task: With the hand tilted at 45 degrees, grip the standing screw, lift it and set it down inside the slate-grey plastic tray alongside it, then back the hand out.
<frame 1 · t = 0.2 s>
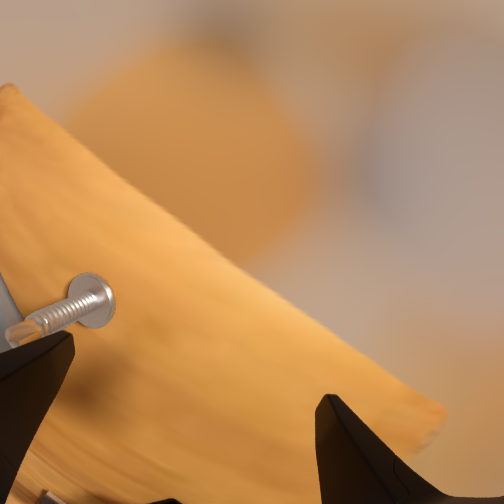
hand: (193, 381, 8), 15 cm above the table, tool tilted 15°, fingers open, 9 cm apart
screw: (101, 295, 23), on the table
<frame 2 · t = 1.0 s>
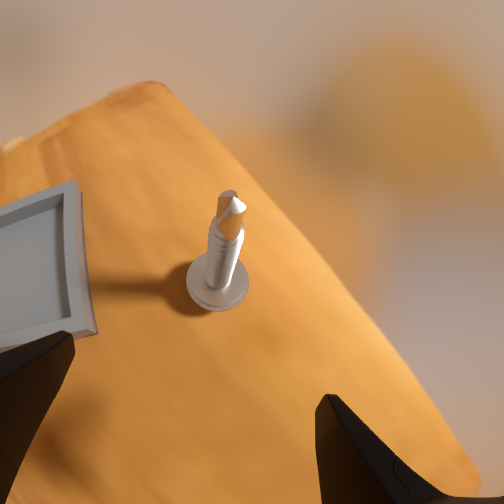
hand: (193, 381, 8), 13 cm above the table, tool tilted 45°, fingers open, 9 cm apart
tray: (17, 276, 20), on the table
screw: (216, 288, 24), on the table
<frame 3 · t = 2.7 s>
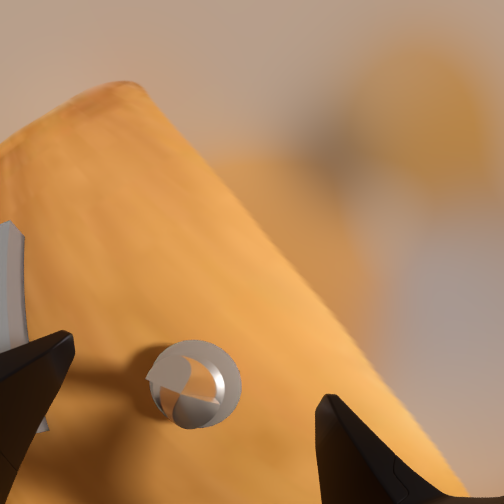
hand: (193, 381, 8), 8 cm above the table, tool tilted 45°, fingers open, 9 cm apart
screw: (195, 384, 15), on the table
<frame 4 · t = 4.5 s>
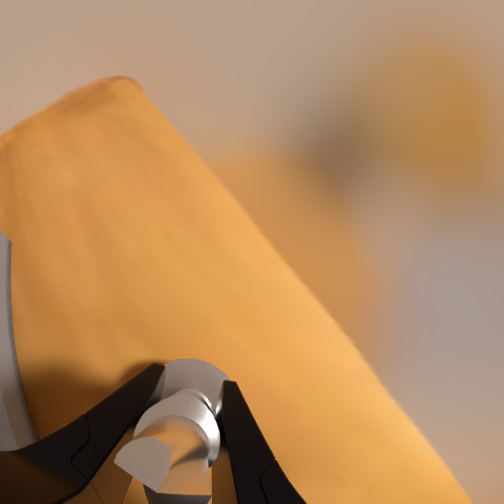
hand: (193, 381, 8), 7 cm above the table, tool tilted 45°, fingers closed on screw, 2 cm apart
screw: (191, 403, 14), on the table, touching gripper
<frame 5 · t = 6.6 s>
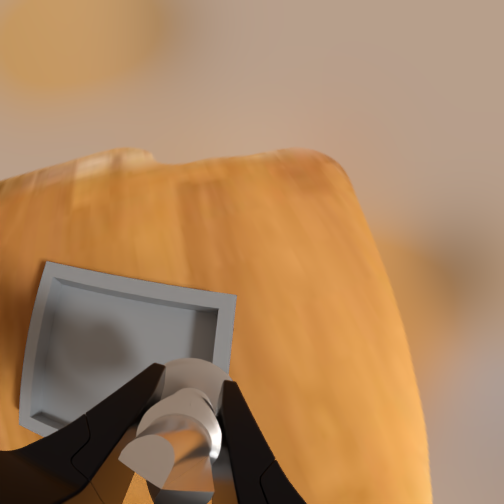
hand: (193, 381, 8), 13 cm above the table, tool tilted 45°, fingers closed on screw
tray: (122, 372, 19), on the table
screw: (192, 401, 14), point 6 cm above the table, touching gripper
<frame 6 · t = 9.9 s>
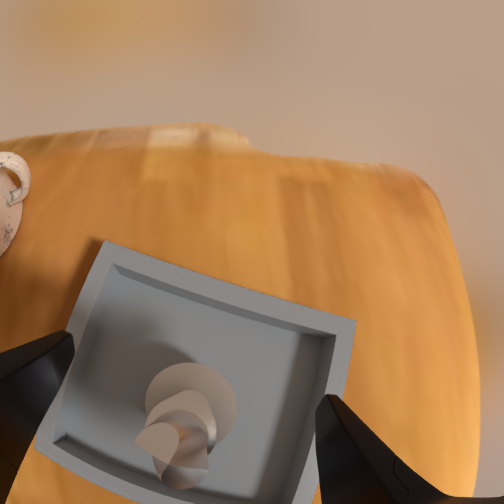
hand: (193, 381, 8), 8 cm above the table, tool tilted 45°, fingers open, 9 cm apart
tray: (192, 400, 15), on the table
screw: (192, 403, 15), resting in tray
teacup with lid: (1, 224, 17), on the table
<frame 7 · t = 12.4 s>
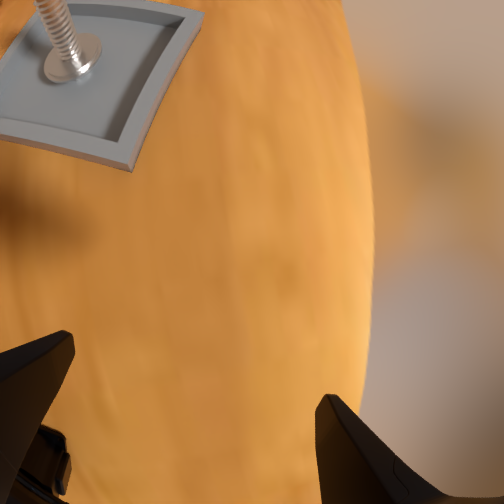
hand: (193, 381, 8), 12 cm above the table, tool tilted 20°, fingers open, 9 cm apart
tray: (79, 70, 16), on the table
screw: (78, 70, 16), resting in tray
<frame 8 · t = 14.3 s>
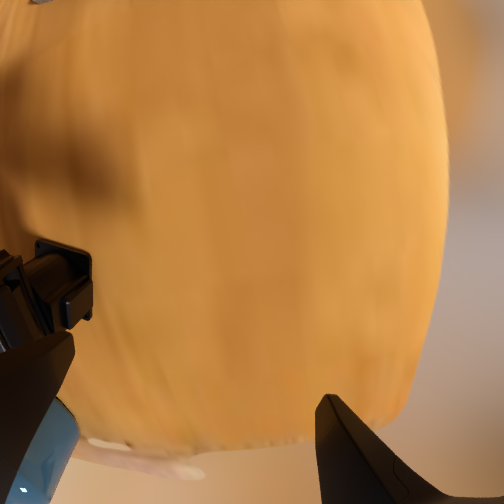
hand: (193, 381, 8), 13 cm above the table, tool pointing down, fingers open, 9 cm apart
wine bottle: (46, 406, 29), on the table
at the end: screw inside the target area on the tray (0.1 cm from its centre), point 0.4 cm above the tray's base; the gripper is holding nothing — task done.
